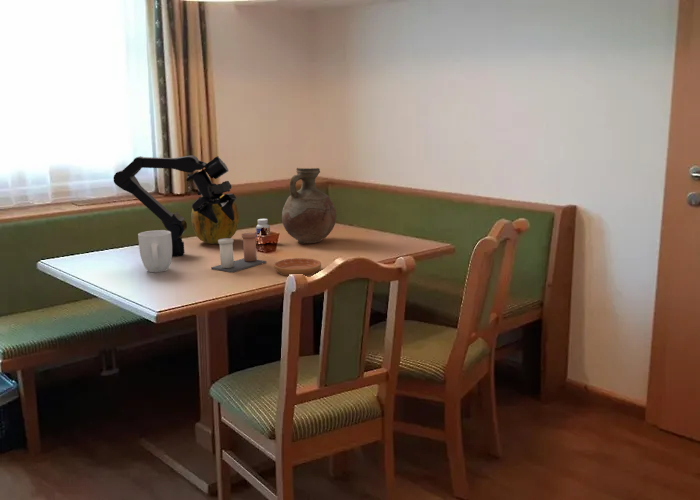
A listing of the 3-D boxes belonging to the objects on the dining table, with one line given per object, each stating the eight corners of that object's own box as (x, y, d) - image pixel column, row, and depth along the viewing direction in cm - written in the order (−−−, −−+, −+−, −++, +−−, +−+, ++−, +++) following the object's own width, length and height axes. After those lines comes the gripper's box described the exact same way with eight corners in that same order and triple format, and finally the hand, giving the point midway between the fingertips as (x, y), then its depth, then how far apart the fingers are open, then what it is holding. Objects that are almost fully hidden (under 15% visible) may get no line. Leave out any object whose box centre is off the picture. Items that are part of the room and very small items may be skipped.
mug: (173, 275, 246) (171, 237, 243) (139, 277, 244) (136, 239, 241) (174, 265, 260) (171, 229, 258) (141, 267, 258) (138, 231, 255)
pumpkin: (205, 237, 309) (202, 178, 304) (248, 238, 304) (244, 178, 299) (184, 246, 292) (180, 183, 287) (228, 248, 287) (225, 184, 281)
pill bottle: (268, 245, 292) (267, 220, 289) (255, 244, 293) (253, 220, 291) (272, 242, 297) (271, 218, 295) (259, 241, 298) (258, 218, 296)
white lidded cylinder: (216, 267, 252) (214, 240, 250) (227, 264, 257) (225, 237, 255) (227, 269, 249) (225, 241, 247) (238, 265, 254) (236, 239, 252)
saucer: (326, 267, 254) (326, 258, 254) (314, 278, 239) (313, 269, 238) (282, 265, 258) (282, 257, 257) (267, 276, 243) (267, 268, 242)
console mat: (211, 269, 254) (211, 267, 254) (245, 259, 267) (245, 257, 267) (232, 272, 248) (231, 270, 248) (266, 262, 261) (266, 261, 261)
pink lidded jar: (240, 260, 261) (238, 234, 259) (250, 257, 266) (248, 232, 263) (250, 262, 258) (249, 236, 256) (260, 259, 262) (259, 233, 260)
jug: (347, 239, 298) (345, 165, 292) (316, 250, 280) (314, 171, 274) (303, 235, 310) (301, 163, 303) (271, 244, 292) (268, 169, 285)
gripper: (200, 175, 259) (222, 212, 256) (234, 172, 275) (255, 207, 272) (182, 192, 264) (203, 229, 262) (216, 188, 280) (236, 223, 278)
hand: (225, 221), depth 268 cm, fingers open, 9 cm apart
